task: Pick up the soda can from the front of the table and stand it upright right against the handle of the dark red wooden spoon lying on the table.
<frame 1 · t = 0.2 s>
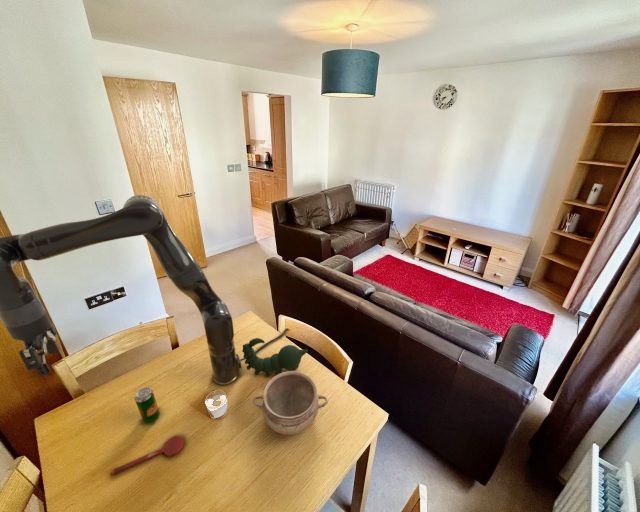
hand: (50, 362, 76), 29 cm above the table, tool pointing down, fingers open, 8 cm apart
soda can: (152, 417, 93), on the table
cooking pot: (291, 417, 94), on the table
spoon: (144, 460, 81), on the table
toy figurine: (277, 370, 112), on the table
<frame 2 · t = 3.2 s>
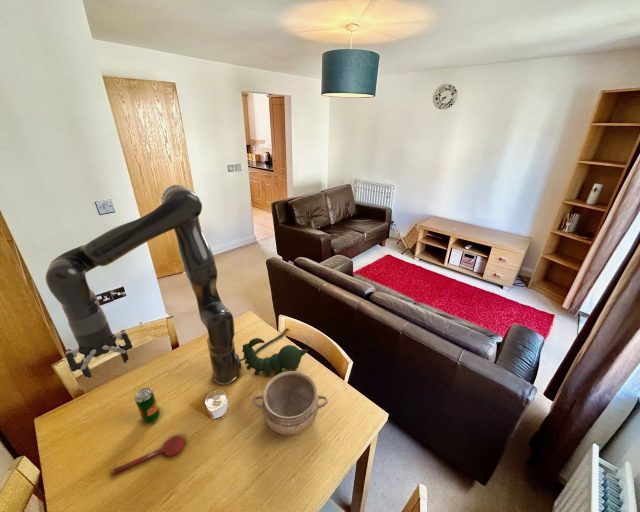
hand: (108, 368, 81), 24 cm above the table, tool pointing down, fingers open, 8 cm apart
nothing on the table moved.
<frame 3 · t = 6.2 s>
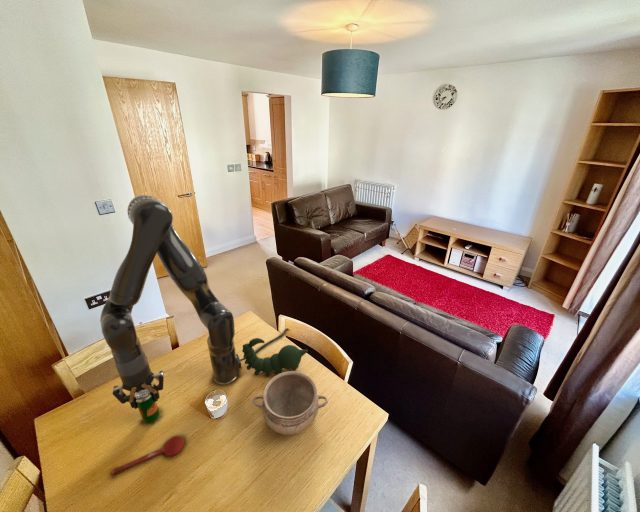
hand: (146, 402, 90), 7 cm above the table, tool pointing down, fingers closed on soda can, 5 cm apart
soda can: (152, 417, 93), on the table, touching gripper
everything else where it was.
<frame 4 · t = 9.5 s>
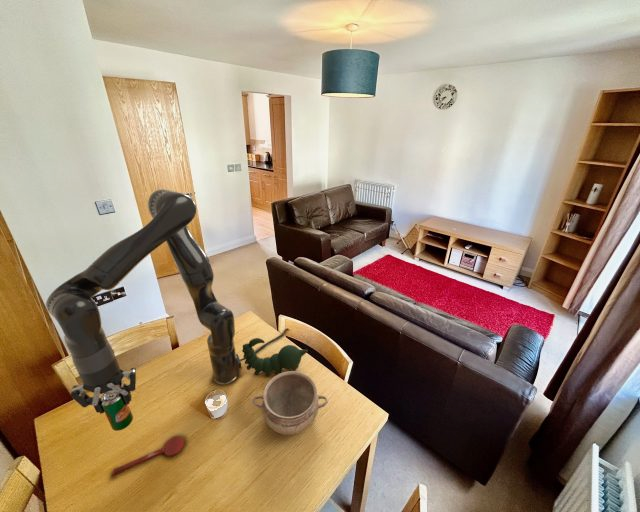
hand: (115, 405, 75), 20 cm above the table, tool pointing down, fingers closed on soda can, 5 cm apart
soda can: (123, 423, 78), point 13 cm above the table, touching gripper
everything else where it was.
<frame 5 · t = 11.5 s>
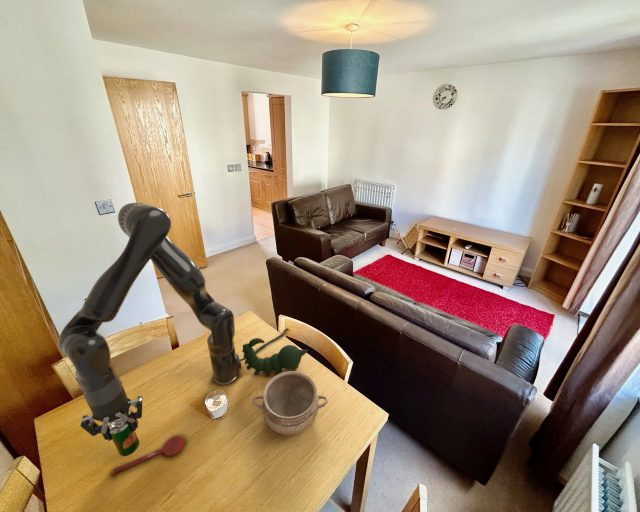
hand: (123, 432, 78), 11 cm above the table, tool pointing down, fingers closed on soda can, 5 cm apart
soda can: (130, 448, 81), point 3 cm above the table, touching gripper
everything else where it was.
when the fingers open (7 cm above the table, at t = 12.9 s): soda can stays where it is, on the table.
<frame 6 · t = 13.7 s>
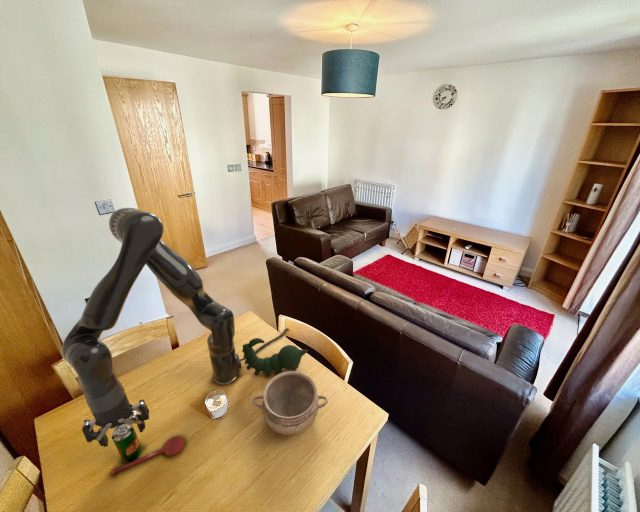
hand: (124, 436, 78), 9 cm above the table, tool pointing down, fingers open, 8 cm apart
soda can: (133, 454, 82), on the table
everything else where it was.
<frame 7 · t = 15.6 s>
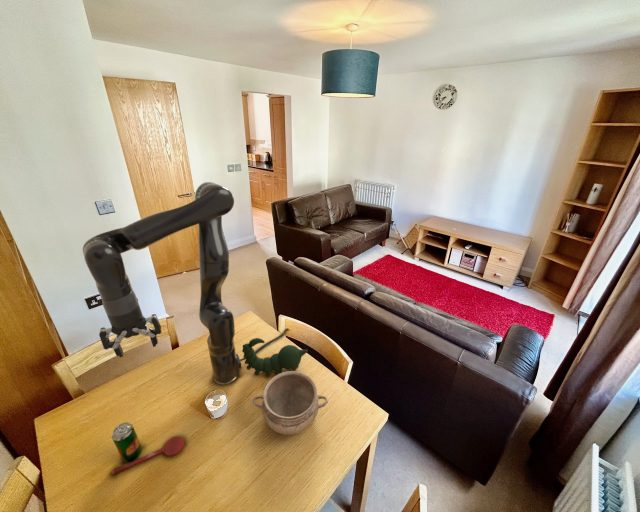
hand: (138, 349, 82), 28 cm above the table, tool pointing down, fingers open, 8 cm apart
nothing on the table moved.
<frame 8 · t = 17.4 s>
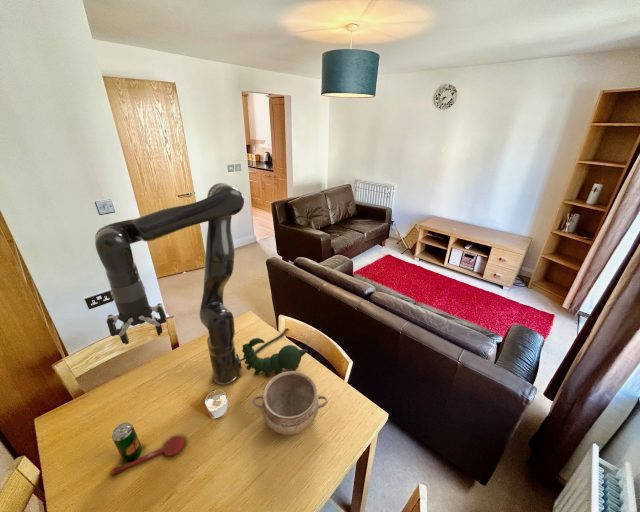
hand: (143, 338, 85), 30 cm above the table, tool pointing down, fingers open, 8 cm apart
nothing on the table moved.
at the end: soda can 0.5 cm from the target spot on the table beside the spoon, on the table; soda can tilted 0°; spoon moved 0.0 cm from its start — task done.
